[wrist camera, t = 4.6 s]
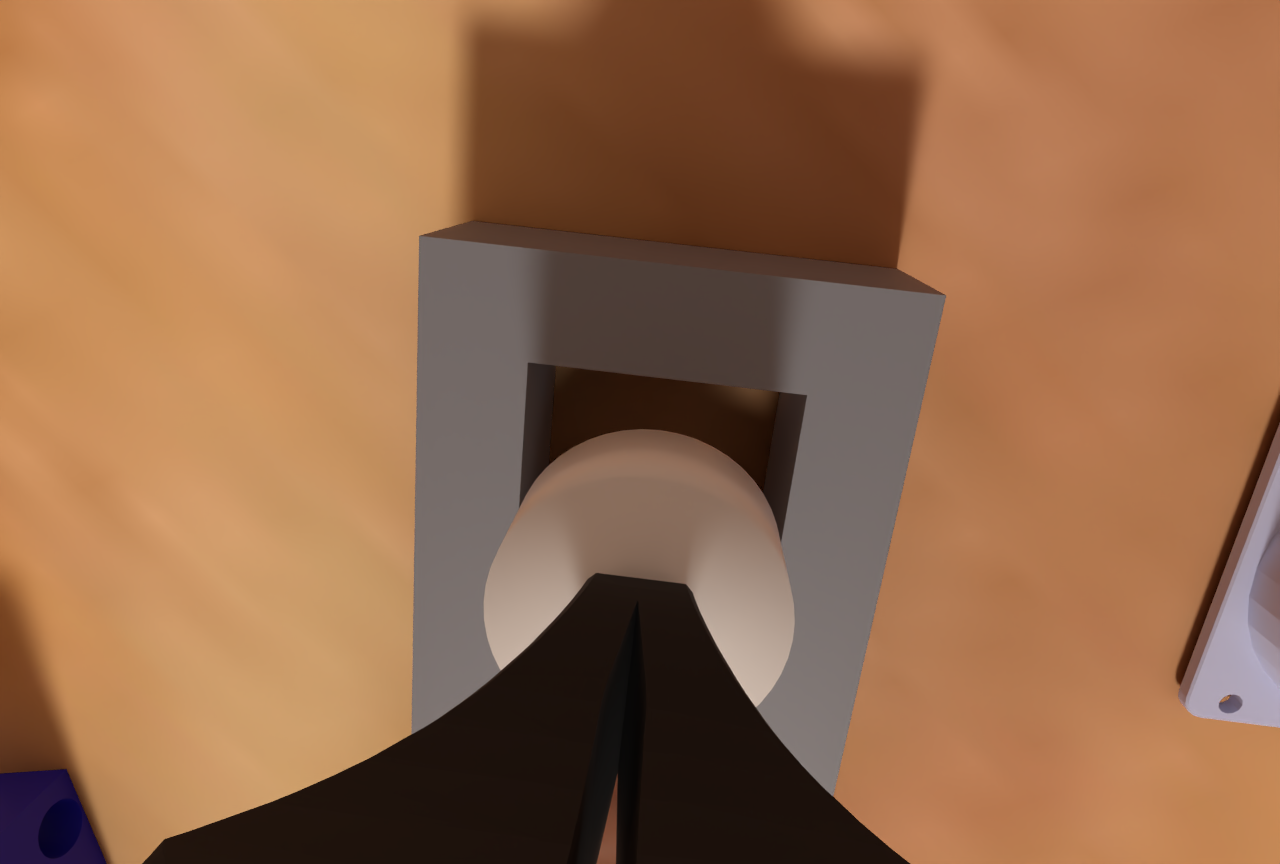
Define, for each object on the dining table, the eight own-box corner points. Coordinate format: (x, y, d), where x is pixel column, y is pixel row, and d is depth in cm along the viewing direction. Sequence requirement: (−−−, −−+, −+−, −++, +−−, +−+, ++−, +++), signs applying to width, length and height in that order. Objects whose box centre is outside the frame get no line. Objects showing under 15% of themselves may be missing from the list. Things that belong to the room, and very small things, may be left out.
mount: (897, 268, 17) (945, 295, 14) (740, 1039, 24) (747, 1177, 21) (472, 221, 17) (419, 235, 14) (444, 998, 25) (405, 1127, 21)
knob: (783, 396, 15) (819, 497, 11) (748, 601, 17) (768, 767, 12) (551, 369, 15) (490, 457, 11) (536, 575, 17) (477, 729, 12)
